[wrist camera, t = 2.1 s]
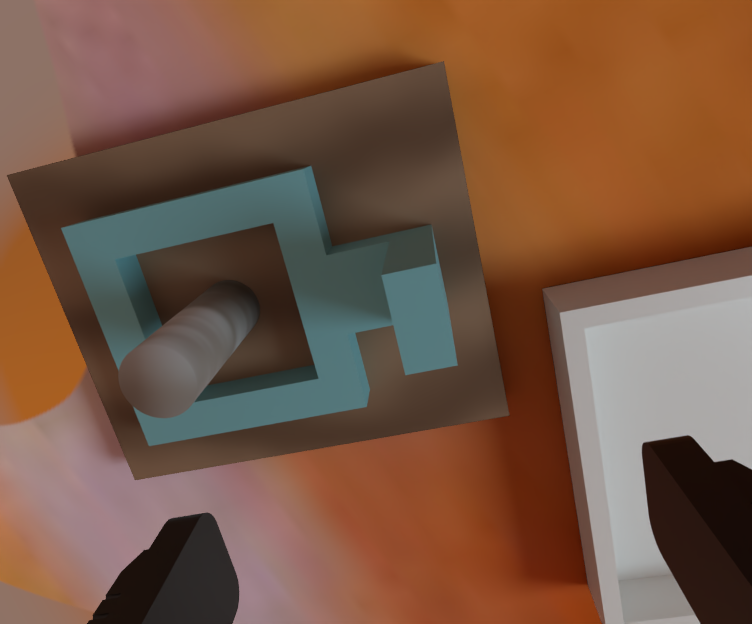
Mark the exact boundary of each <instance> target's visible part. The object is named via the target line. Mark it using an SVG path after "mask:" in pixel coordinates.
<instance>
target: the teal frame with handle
mask: <svg viewBox="0 0 752 624" xmlns="http://www.w3.org/2000/svg"><path fill="white" fill-rule="evenodd" d="M271 223H273V224H274V227H275V230H276V234H277V237H278V241H279V244H280V248H281V251H282V255H283V258H284V261H285V265H286V268H287V272H288V275H289V279H290V282H291V285H292V289H293V292H294V296H295V299H296V303H297V306H298V310H299V313H300V316H301V320H302V323H303V327H304V330H305V334H306V337H307V340H308V344H309V347H310V351H311V354H312V358H313V361H314V365H310V366H305V367H300V368H295V369H290V370H284V371H279V372H274V373H269V374H264V375H259V376H253V377H248V378H243V379H238V380H233V381H228V382H222V383H217V384H212V385H207V386H206V387H205V389H204V390H203V391H202V393H201V394H200V395H199V396H198V398H197V399H196V400H195V401H194V403H193V404H192V405H191V406H190V407H189V409H188V410H186V411H185V412H184V413H182V414H180V415H178V416H176V417H172V418H156V417H151V416H149V415H146V414H144V413H142V412H140V411H139V410H137V409H136V408H134V407H133V408H134V410H135V413H136V415H137V418H138V420H139V423H140V425H141V428H142V430H143V433H144V435H145V437H146V440H147V442H148V445H149V446H153V445H159V444H164V443H170V442H175V441H181V440H186V439H192V438H198V437H203V436H209V435H214V434H220V433H225V432H231V431H236V430H242V429H247V428H253V427H258V426H264V425H270V424H275V423H281V422H286V421H292V420H297V419H303V418H308V417H314V416H319V415H325V414H330V413H336V412H341V411H347V410H353V409H358V408H364V407H367V403H368V397H369V392H370V388H369V384H368V380H367V376H366V372H365V369H364V365H363V361H362V357H361V353H360V350H359V346H358V342H357V338H356V334H355V333H357V332H362V331H367V330H372V329H377V328H382V327H387V326H392V325H393V326H394V330H395V334H396V338H397V343H398V347H399V351H400V355H401V359H402V363H403V367H404V372H405V375H409V374H415V373H420V372H425V371H431V370H436V369H441V368H447V367H452V366H457V365H458V364H457V358H456V352H455V346H454V340H453V333H452V327H451V321H450V315H449V308H448V302H447V297H446V292H445V288H444V283H443V278H442V273H441V268H440V264H439V259H438V254H437V249H436V244H435V240H434V235H433V230H432V225H426V226H422V227H417V228H413V229H408V230H404V231H399V232H395V233H390V234H386V235H381V236H377V237H372V238H368V239H363V240H359V241H354V242H350V243H345V244H341V245H336V246H332V243H331V239H330V236H329V232H328V228H327V224H326V220H325V217H324V213H323V209H322V205H321V201H320V197H319V194H318V190H317V186H316V182H315V178H314V175H313V171H312V167H311V166H308V167H304V168H299V169H295V170H291V171H287V172H283V173H279V174H275V175H271V176H267V177H263V178H258V179H254V180H250V181H246V182H242V183H238V184H234V185H230V186H226V187H221V188H217V189H213V190H209V191H205V192H201V193H197V194H193V195H189V196H184V197H180V198H176V199H172V200H168V201H164V202H160V203H156V204H152V205H148V206H143V207H139V208H135V209H131V210H127V211H123V212H119V213H115V214H111V215H106V216H102V217H98V218H94V219H90V220H86V221H82V222H79V223H76V224H72V225H69V226H66V227H63V228H61V229H62V232H63V234H64V237H65V239H66V242H67V244H68V247H69V249H70V252H71V254H72V257H73V259H74V262H75V264H76V267H77V269H78V272H79V274H80V276H81V279H82V281H83V284H84V286H85V289H86V291H87V294H88V296H89V299H90V301H91V304H92V306H93V309H94V311H95V314H96V316H97V319H98V321H99V324H100V326H101V328H102V331H103V333H104V336H105V338H106V341H107V343H108V346H109V348H110V351H111V353H112V356H113V358H114V361H115V363H116V366H117V368H118V371H119V367H120V365H121V362H122V360H123V359H124V358H125V356H126V355H127V354H128V353H129V352H131V351H132V350H133V349H134V348H136V347H137V346H138V345H139V344H141V343H142V342H143V341H144V340H146V339H147V338H148V337H149V336H150V335H152V334H153V333H154V332H155V331H157V330H158V329H159V328H160V327H162V324H161V321H160V318H159V316H158V313H157V310H156V308H155V305H154V302H153V300H152V297H151V294H150V291H149V289H148V286H147V283H146V281H145V278H144V275H143V272H142V270H141V267H140V264H139V262H138V259H137V256H136V255H137V254H141V253H145V252H150V251H154V250H158V249H162V248H167V247H171V246H175V245H180V244H184V243H188V242H193V241H197V240H201V239H206V238H210V237H214V236H219V235H223V234H227V233H232V232H236V231H240V230H245V229H249V228H253V227H258V226H262V225H266V224H271Z"/></svg>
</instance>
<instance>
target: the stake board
mask: <svg viewBox="0 0 752 624" xmlns="http://www.w3.org/2000/svg"><path fill="white" fill-rule="evenodd" d="M308 166H311V167H312V171H313V175H314V178H315V182H316V186H317V190H318V194H319V197H320V201H321V205H322V209H323V213H324V217H325V220H326V224H327V228H328V232H329V236H330V239H331V243H332V246H336V245H341V244H345V243H350V242H354V241H359V240H363V239H368V238H372V237H377V236H381V235H386V234H390V233H395V232H399V231H404V230H408V229H413V228H417V227H422V226H426V225H432V230H433V235H434V240H435V244H436V249H437V254H438V259H439V264H440V268H441V273H442V278H443V283H444V288H445V292H446V297H447V302H448V308H449V315H450V321H451V327H452V333H453V340H454V346H455V352H456V358H457V364H458V365H457V366H452V367H447V368H441V369H436V370H431V371H425V372H420V373H415V374H409V375H405V372H404V367H403V363H402V359H401V355H400V351H399V347H398V343H397V338H396V334H395V330H394V326H393V325H392V326H387V327H382V328H377V329H372V330H367V331H362V332H357V333H355V334H356V338H357V342H358V346H359V350H360V353H361V357H362V361H363V365H364V369H365V372H366V376H367V380H368V384H369V388H370V392H369V397H368V403H367V407H364V408H358V409H353V410H347V411H341V412H336V413H330V414H325V415H319V416H314V417H308V418H303V419H297V420H292V421H286V422H281V423H275V424H270V425H264V426H258V427H253V428H247V429H242V430H236V431H231V432H225V433H220V434H214V435H209V436H203V437H198V438H192V439H186V440H181V441H175V442H170V443H164V444H159V445H153V446H149V445H148V442H147V440H146V437H145V435H144V433H143V430H142V428H141V425H140V423H139V420H138V418H137V415H136V413H135V410H134V408H136V409H137V410H139V411H140V412H142V413H144V414H146V415H149V416H151V417H156V418H172V417H176V416H178V415H180V414H182V413H184V412H185V411H186V410H188V409H189V407H190V406H191V405H192V404H193V403H194V401H195V400H196V399H197V398H198V396H199V395H200V394H201V393H202V391H203V390H204V389H205V387H206V386H207V385H212V384H217V383H222V382H228V381H233V380H238V379H243V378H248V377H253V376H259V375H264V374H269V373H274V372H279V371H284V370H290V369H295V368H300V367H305V366H310V365H314V361H313V358H312V354H311V351H310V347H309V344H308V340H307V337H306V334H305V330H304V327H303V323H302V320H301V316H300V313H299V310H298V306H297V303H296V299H295V296H294V292H293V289H292V285H291V282H290V279H289V275H288V272H287V268H286V265H285V261H284V258H283V255H282V251H281V248H280V244H279V241H278V237H277V234H276V230H275V227H274V224H273V223H271V224H266V225H262V226H258V227H253V228H249V229H245V230H240V231H236V232H232V233H227V234H223V235H219V236H214V237H210V238H206V239H201V240H197V241H193V242H188V243H184V244H180V245H175V246H171V247H167V248H162V249H158V250H154V251H150V252H145V253H141V254H137V255H136V256H137V259H138V262H139V264H140V267H141V270H142V272H143V275H144V278H145V281H146V283H147V286H148V289H149V291H150V294H151V297H152V300H153V302H154V305H155V308H156V310H157V313H158V316H159V318H160V321H161V324H162V327H160V328H159V329H158V330H157V331H155V332H154V333H153V334H152V335H150V336H149V337H148V338H147V339H146V340H144V341H143V342H142V343H141V344H139V345H138V346H137V347H136V348H134V349H133V350H132V351H131V352H129V353H128V354H127V355H126V356H125V358H124V359H123V360H122V362H121V365H120V367H119V371H118V368H117V366H116V363H115V361H114V358H113V356H112V353H111V351H110V348H109V346H108V343H107V341H106V338H105V336H104V333H103V331H102V328H101V326H100V324H99V321H98V319H97V316H96V314H95V311H94V309H93V306H92V304H91V301H90V299H89V296H88V294H87V291H86V289H85V286H84V284H83V281H82V279H81V276H80V274H79V272H78V269H77V267H76V264H75V262H74V259H73V257H72V254H71V252H70V249H69V247H68V244H67V242H66V239H65V237H64V234H63V232H62V229H61V228H63V227H66V226H69V225H72V224H76V223H79V222H82V221H86V220H90V219H94V218H98V217H102V216H106V215H111V214H115V213H119V212H123V211H127V210H131V209H135V208H139V207H143V206H148V205H152V204H156V203H160V202H164V201H168V200H172V199H176V198H180V197H184V196H189V195H193V194H197V193H201V192H205V191H209V190H213V189H217V188H221V187H226V186H230V185H234V184H238V183H242V182H246V181H250V180H254V179H258V178H263V177H267V176H271V175H275V174H279V173H283V172H287V171H291V170H295V169H299V168H304V167H308ZM7 177H8V179H9V181H10V184H11V186H12V189H13V191H14V193H15V196H16V198H17V200H18V203H19V205H20V208H21V210H22V212H23V214H24V217H25V219H26V222H27V224H28V227H29V229H30V231H31V234H32V236H33V239H34V241H35V243H36V246H37V248H38V250H39V253H40V255H41V257H42V260H43V262H44V265H45V267H46V269H47V272H48V274H49V276H50V279H51V281H52V284H53V286H54V289H55V291H56V293H57V296H58V298H59V300H60V303H61V305H62V308H63V310H64V312H65V315H66V317H67V319H68V322H69V324H70V327H71V329H72V331H73V334H74V336H75V339H76V341H77V343H78V346H79V348H80V350H81V353H82V355H83V358H84V360H85V362H86V365H87V367H88V369H89V372H90V374H91V377H92V379H93V381H94V384H95V386H96V388H97V391H98V393H99V396H100V398H101V400H102V403H103V405H104V407H105V410H106V412H107V415H108V417H109V419H110V422H111V424H112V426H113V429H114V431H115V434H116V436H117V438H118V441H119V443H120V446H121V448H122V450H123V453H124V455H125V457H126V460H127V462H128V465H129V467H130V469H131V472H132V474H133V476H134V479H135V480H139V479H145V478H150V477H156V476H162V475H168V474H174V473H179V472H185V471H191V470H197V469H203V468H208V467H214V466H220V465H226V464H232V463H237V462H243V461H249V460H255V459H261V458H266V457H272V456H278V455H284V454H290V453H295V452H301V451H307V450H313V449H319V448H324V447H330V446H336V445H342V444H348V443H353V442H359V441H365V440H371V439H377V438H382V437H388V436H394V435H400V434H406V433H411V432H417V431H423V430H429V429H435V428H440V427H446V426H452V425H458V424H464V423H469V422H475V421H481V420H487V419H493V418H498V417H504V416H509V410H508V405H507V400H506V394H505V389H504V383H503V378H502V373H501V367H500V362H499V356H498V351H497V346H496V340H495V335H494V329H493V324H492V319H491V313H490V308H489V302H488V297H487V292H486V286H485V281H484V276H483V270H482V265H481V259H480V254H479V249H478V243H477V238H476V232H475V227H474V222H473V216H472V211H471V205H470V200H469V195H468V189H467V184H466V178H465V173H464V168H463V162H462V157H461V151H460V146H459V141H458V135H457V130H456V124H455V119H454V114H453V108H452V103H451V98H450V92H449V87H448V81H447V76H446V71H445V65H444V61H443V62H439V63H435V64H432V65H428V66H424V67H420V68H416V69H412V70H409V71H405V72H401V73H397V74H393V75H389V76H386V77H382V78H378V79H374V80H370V81H367V82H363V83H359V84H355V85H351V86H347V87H344V88H340V89H336V90H332V91H328V92H324V93H321V94H317V95H313V96H309V97H305V98H301V99H298V100H294V101H290V102H286V103H282V104H278V105H275V106H271V107H267V108H263V109H259V110H255V111H252V112H248V113H244V114H240V115H236V116H232V117H229V118H225V119H221V120H217V121H213V122H209V123H206V124H202V125H198V126H194V127H190V128H186V129H183V130H179V131H175V132H171V133H167V134H163V135H160V136H156V137H152V138H148V139H144V140H140V141H137V142H133V143H129V144H125V145H121V146H117V147H114V148H110V149H106V150H102V151H98V152H94V153H91V154H87V155H83V156H79V157H75V158H71V159H68V160H64V161H60V162H56V163H52V164H49V165H45V166H41V167H37V168H33V169H29V170H25V171H22V172H18V173H14V174H10V175H7ZM133 407H134V408H133Z"/></svg>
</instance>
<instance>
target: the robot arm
mask: <svg viewBox="0 0 752 624" xmlns="http://www.w3.org/2000/svg"><path fill="white" fill-rule="evenodd" d="M642 460H643V469H644V478H645V487H646V496H647V505H648V514H649V520H650V525H651V529H652V532H653V535H654V538H655V541H656V544H657V546H658V549H659V551H660V553H661V555H662V557H663V559H664V560H665V562H666V564H667V566H668V567H669V569H670V571H671V573H672V574H673V576H674V578H675V580H676V581H677V583H678V585H679V587H680V589H681V590H682V592H683V594H684V596H685V597H686V599H687V601H688V603H689V604H690V606H691V608H692V610H693V611H694V613H695V615H696V617H697V618H698V620H699V622H700V624H752V469H750V468H748V467H746V466H744V465H742V464H740V463H738V462H736V461H735V460H733V459H731V460H724V461H718V462H714V461H713V460H712V459H711V458H710V457H709V455H708V454H707V453H706V452H705V451H704V450H703V449H702V447H701V446H700V445H699V444H698V443H697V442H696V441H695V439H694V438H693V437H691V436H689V435H686V436H680V437H673V438H667V439H661V440H655V441H649V442H644V443H643V445H642ZM238 603H239V584H238V579H237V575H236V572H235V570H234V567H233V564H232V562H231V559H230V556H229V554H228V551H227V548H226V546H225V543H224V540H223V538H222V535H221V533H220V530H219V527H218V525H217V522H216V520H215V518H214V517H213V516H212V515H211V514H210V513H202V514H196V515H190V516H184V517H178V518H171V519H169V520H168V521H167V522H166V523H165V524H164V526H163V528H162V529H161V531H160V532H159V534H158V536H157V537H156V539H155V540H154V542H153V544H152V545H151V547H150V548H149V549H148V550H144V551H143V552H142V553H141V554H140V555H139V556H138V557H137V558H135V559H134V560H133V561H132V562H131V563H130V564H129V565H128V566H127V567H126V568H125V569H124V570H123V571H122V572H121V573H120V574H119V576H118V578H117V579H116V581H115V582H114V584H113V585H112V587H111V588H110V590H109V591H108V593H107V594H106V600H102V602H101V603H100V605H99V606H98V608H97V610H96V611H95V613H94V614H93V620H90V621H89V622H88V623H87V624H232V623H233V621H234V618H235V615H236V612H237V609H238Z"/></svg>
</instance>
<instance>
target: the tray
mask: <svg viewBox="0 0 752 624" xmlns="http://www.w3.org/2000/svg"><path fill="white" fill-rule="evenodd" d="M542 291H543V298H544V304H545V311H546V317H547V324H548V330H549V337H550V343H551V350H552V356H553V363H554V369H555V375H556V382H557V388H558V395H559V401H560V408H561V414H562V421H563V427H564V434H565V440H566V446H567V453H568V459H569V466H570V472H571V479H572V485H573V492H574V498H575V505H576V511H577V518H578V524H579V530H580V537H581V543H582V550H583V556H584V563H585V569H586V576H587V582H588V587H589V589H590V592H591V595H592V598H593V600H594V603H595V606H596V609H597V611H598V614H599V617H600V620H601V622H602V624H700V622H699V620H698V618H697V617H696V615H695V613H694V611H693V610H692V608H691V606H690V604H689V603H688V601H687V599H686V597H685V596H684V594H683V592H682V590H681V589H680V587H679V585H678V583H677V581H676V580H675V578H674V576H673V574H672V573H671V571H670V569H669V567H668V566H667V564H666V562H665V560H664V559H663V557H662V555H661V553H660V551H659V549H658V546H657V544H656V541H655V538H654V535H653V532H652V529H651V525H650V520H649V514H648V505H647V496H646V487H645V478H644V469H643V460H642V445H643V443H644V442H649V441H655V440H661V439H667V438H673V437H680V436H686V435H689V436H691V437H693V438H694V439H695V441H696V442H697V443H698V444H699V445H700V446H701V447H702V449H703V450H704V451H705V452H706V453H707V454H708V455H709V457H710V458H711V459H712V460H713V461H714V462H718V461H724V460H731V459H733V460H735V461H736V462H738V463H740V464H742V465H744V466H746V467H748V468H750V469H752V247H747V248H742V249H737V250H732V251H727V252H722V253H717V254H713V255H708V256H703V257H698V258H693V259H688V260H683V261H678V262H673V263H668V264H663V265H658V266H653V267H648V268H643V269H638V270H633V271H628V272H623V273H618V274H613V275H608V276H603V277H598V278H593V279H588V280H583V281H578V282H573V283H568V284H563V285H558V286H553V287H548V288H543V289H542Z"/></svg>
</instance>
